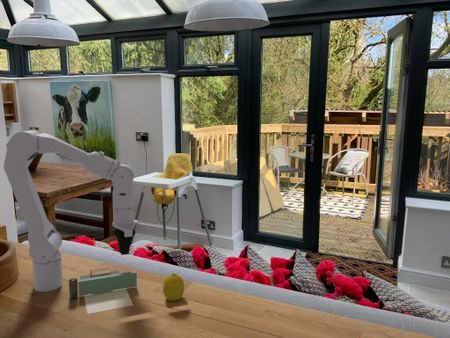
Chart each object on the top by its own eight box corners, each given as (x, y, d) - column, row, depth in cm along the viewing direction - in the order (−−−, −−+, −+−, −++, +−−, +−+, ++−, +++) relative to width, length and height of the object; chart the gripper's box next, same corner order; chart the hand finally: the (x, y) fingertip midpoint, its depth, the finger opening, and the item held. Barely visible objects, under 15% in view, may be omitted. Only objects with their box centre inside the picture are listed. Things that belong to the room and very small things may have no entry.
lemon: (184, 296, 103) (185, 269, 101) (183, 307, 97) (183, 278, 96) (164, 296, 102) (164, 268, 101) (161, 307, 97) (161, 278, 96)
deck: (80, 279, 111) (80, 276, 111) (118, 273, 116) (118, 270, 116) (87, 317, 91) (87, 314, 91) (133, 308, 96) (133, 305, 96)
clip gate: (78, 294, 99) (78, 279, 99) (135, 284, 106) (135, 270, 105) (79, 296, 98) (78, 281, 98) (136, 286, 105) (136, 272, 104)
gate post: (69, 300, 99) (68, 279, 98) (77, 299, 100) (76, 277, 99) (70, 304, 97) (69, 282, 96) (78, 302, 98) (77, 280, 97)
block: (90, 281, 108) (90, 267, 108) (108, 278, 110) (108, 265, 110) (92, 288, 104) (92, 275, 103) (111, 285, 106) (110, 272, 105)
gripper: (143, 212, 101) (144, 260, 103) (132, 200, 114) (133, 243, 116) (116, 214, 98) (117, 264, 100) (108, 201, 111) (109, 246, 113)
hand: (124, 253), depth 108 cm, fingers closed
